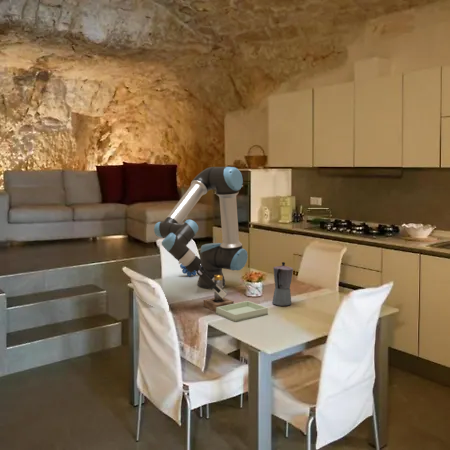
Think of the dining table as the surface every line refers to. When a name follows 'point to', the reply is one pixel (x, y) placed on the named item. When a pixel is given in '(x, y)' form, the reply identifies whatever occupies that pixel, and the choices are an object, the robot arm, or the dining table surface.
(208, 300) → the socket block
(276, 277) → the moka pot
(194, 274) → the grapes
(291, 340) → the dining table surface
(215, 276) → the grey bottle
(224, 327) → the dining table surface
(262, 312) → the tray
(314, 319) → the dining table surface
